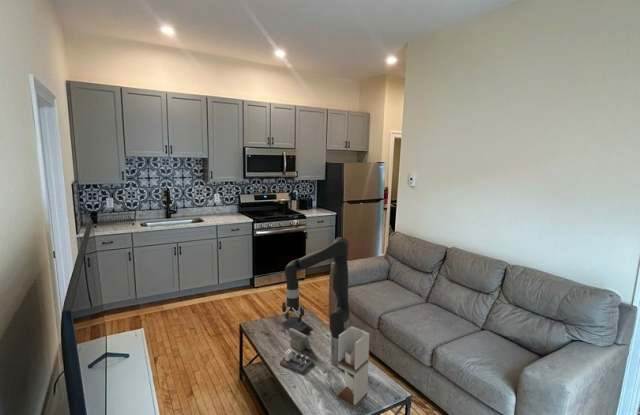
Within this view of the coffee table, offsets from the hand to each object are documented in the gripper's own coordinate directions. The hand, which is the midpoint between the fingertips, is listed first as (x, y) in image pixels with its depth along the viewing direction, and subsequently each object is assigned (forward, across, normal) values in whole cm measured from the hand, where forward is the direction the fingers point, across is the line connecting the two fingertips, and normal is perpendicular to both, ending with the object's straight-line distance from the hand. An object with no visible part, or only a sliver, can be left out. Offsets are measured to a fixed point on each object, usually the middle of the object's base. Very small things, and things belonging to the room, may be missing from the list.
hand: (293, 320), depth 201 cm
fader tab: (+21, -1, +7) cm, 22 cm away
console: (+23, -6, +5) cm, 25 cm away
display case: (+24, -45, +13) cm, 53 cm away
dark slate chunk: (+24, +17, -29) cm, 41 cm away
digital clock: (+24, +3, -11) cm, 26 cm away
